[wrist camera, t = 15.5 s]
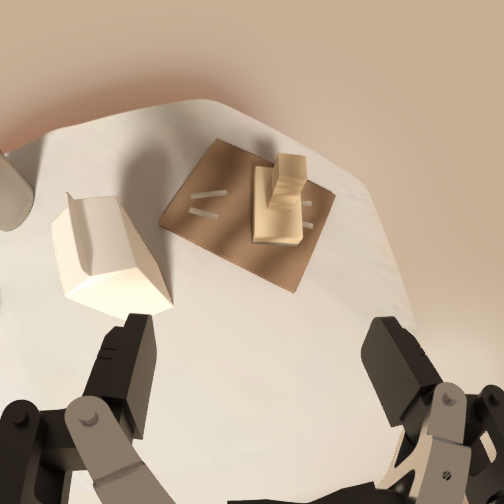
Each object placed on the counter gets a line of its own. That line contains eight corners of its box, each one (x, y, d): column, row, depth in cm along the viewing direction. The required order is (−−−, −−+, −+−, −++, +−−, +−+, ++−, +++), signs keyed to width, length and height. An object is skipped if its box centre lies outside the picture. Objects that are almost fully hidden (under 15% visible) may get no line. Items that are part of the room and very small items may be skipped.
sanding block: (251, 243, 40) (264, 205, 29) (252, 177, 43) (264, 127, 32) (296, 246, 40) (323, 210, 30) (293, 181, 43) (315, 134, 33)
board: (160, 225, 40) (158, 222, 39) (216, 143, 46) (216, 138, 44) (293, 293, 39) (295, 291, 38) (333, 198, 45) (336, 195, 44)
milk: (158, 264, 39) (106, 170, 18) (174, 307, 37) (127, 251, 16) (116, 281, 37) (30, 205, 16) (131, 324, 36) (42, 287, 15)
